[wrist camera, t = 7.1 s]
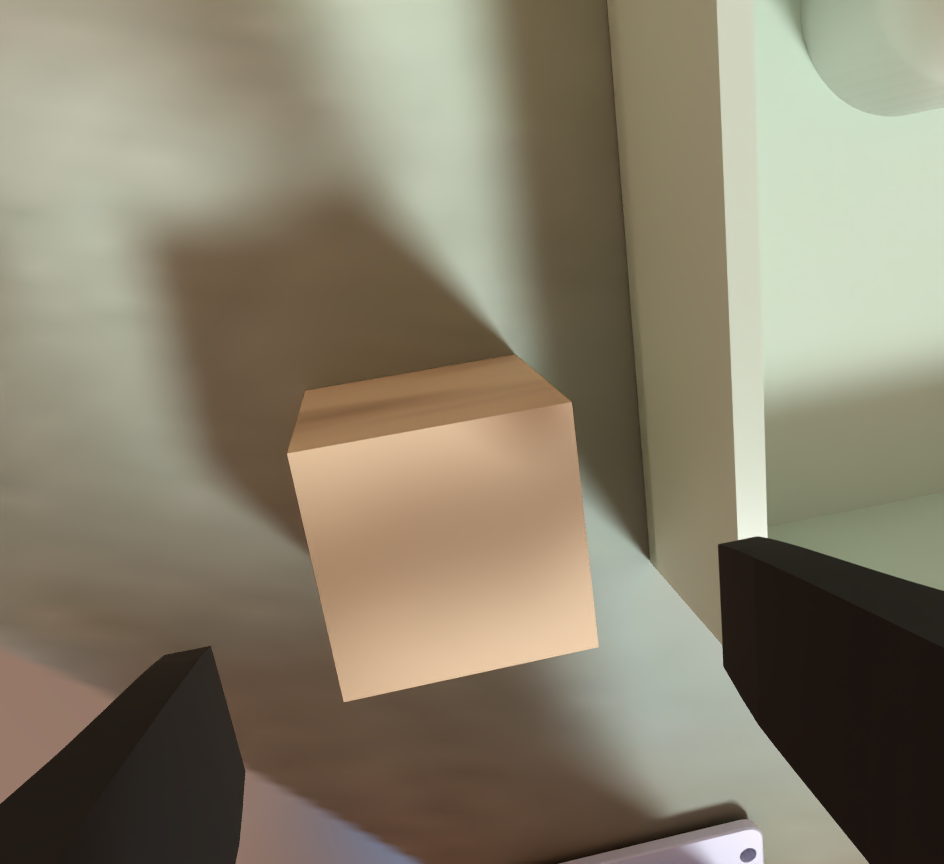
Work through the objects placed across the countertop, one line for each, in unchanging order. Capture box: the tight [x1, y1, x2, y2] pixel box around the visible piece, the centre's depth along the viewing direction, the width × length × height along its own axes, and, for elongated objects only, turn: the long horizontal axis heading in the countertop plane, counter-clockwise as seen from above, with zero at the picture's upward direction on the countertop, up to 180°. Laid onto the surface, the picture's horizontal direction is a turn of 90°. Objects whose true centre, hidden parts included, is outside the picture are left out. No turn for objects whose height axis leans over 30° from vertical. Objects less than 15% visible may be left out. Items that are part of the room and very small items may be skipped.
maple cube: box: [287, 354, 599, 702], centre depth 16 cm, size 5×5×5 cm
